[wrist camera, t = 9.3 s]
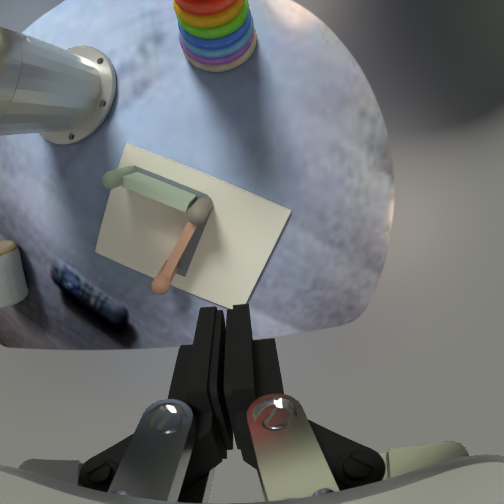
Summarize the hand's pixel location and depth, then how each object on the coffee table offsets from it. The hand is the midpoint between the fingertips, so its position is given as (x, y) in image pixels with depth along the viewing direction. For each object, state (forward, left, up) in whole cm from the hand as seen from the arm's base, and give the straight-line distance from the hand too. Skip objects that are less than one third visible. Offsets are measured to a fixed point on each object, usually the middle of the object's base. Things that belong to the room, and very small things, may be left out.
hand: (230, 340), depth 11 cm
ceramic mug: (-30, -22, -25) cm, 45 cm away
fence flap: (-4, -6, -24) cm, 25 cm away
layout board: (-5, -6, -25) cm, 26 cm away
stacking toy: (-10, +16, -25) cm, 31 cm away
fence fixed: (-9, -2, -24) cm, 26 cm away
